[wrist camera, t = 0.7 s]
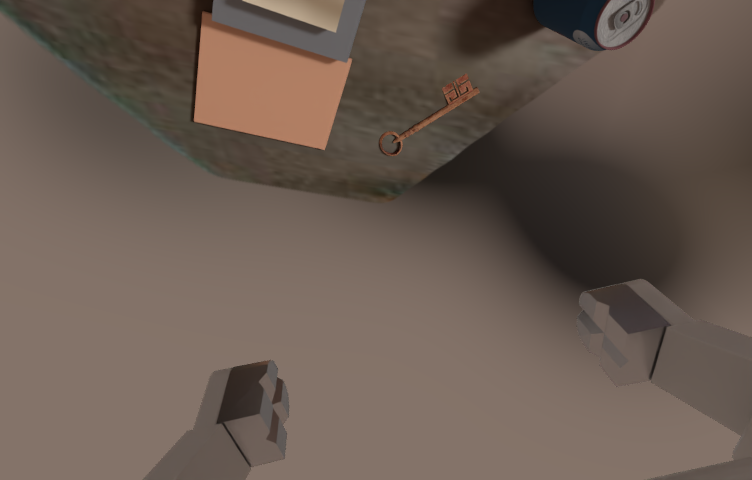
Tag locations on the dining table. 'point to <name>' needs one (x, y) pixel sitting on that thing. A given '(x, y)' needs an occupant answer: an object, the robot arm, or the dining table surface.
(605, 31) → the soda can
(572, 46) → the dining table surface
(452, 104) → the key
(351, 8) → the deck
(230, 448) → the robot arm
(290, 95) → the mat
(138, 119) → the dining table surface
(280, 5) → the tile
